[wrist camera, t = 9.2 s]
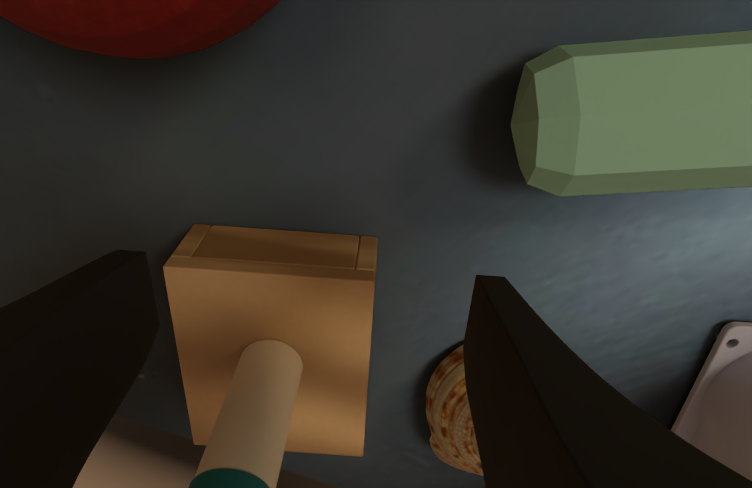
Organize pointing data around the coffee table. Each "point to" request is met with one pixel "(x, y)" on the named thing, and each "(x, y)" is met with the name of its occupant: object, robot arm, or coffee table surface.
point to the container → (637, 115)
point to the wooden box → (277, 323)
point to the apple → (135, 23)
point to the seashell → (452, 415)
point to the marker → (253, 420)
